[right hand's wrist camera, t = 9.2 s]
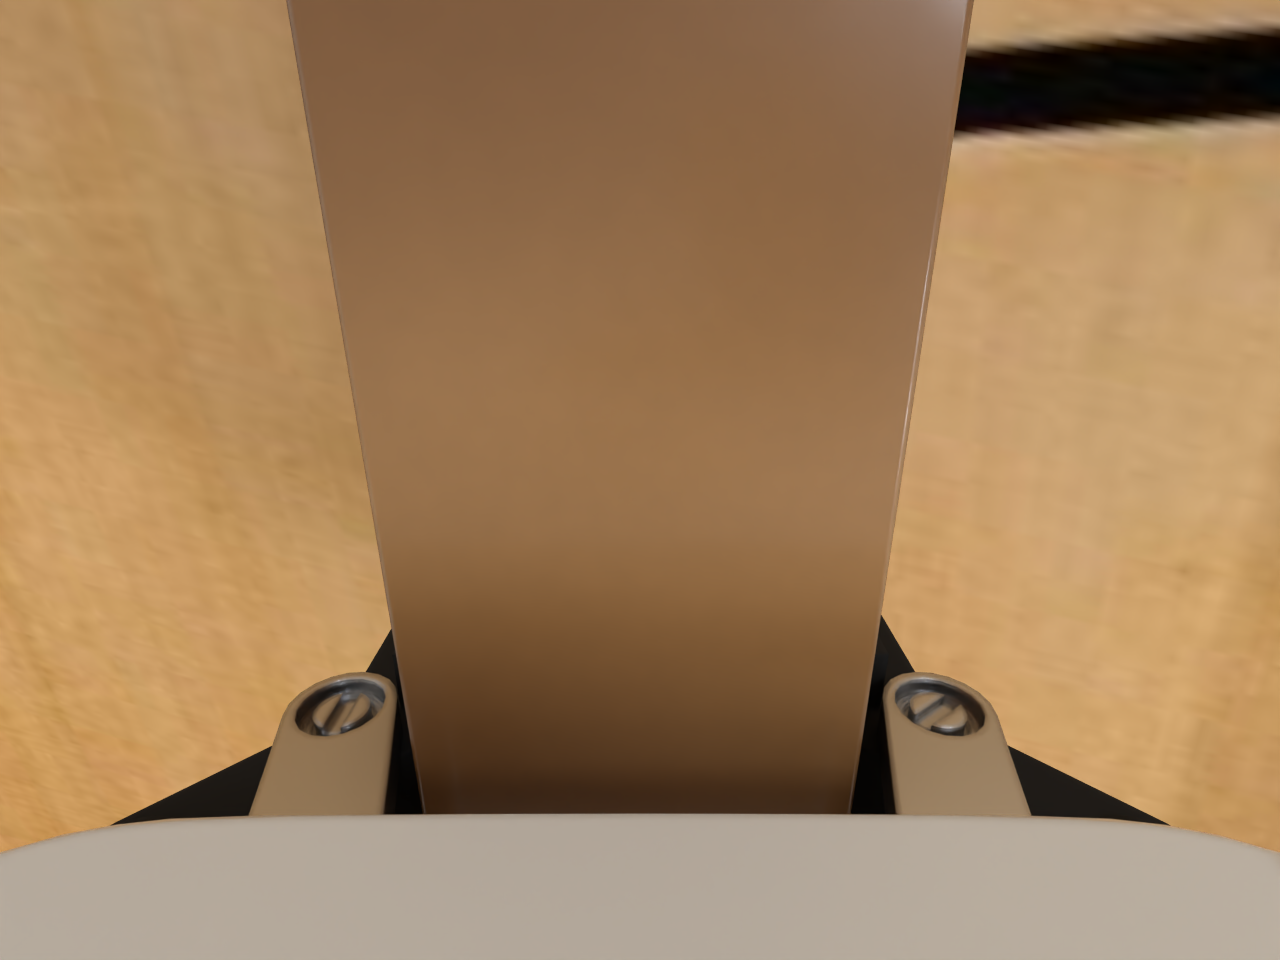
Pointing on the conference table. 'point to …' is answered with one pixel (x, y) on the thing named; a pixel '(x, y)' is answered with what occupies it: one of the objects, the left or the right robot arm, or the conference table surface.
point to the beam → (633, 375)
